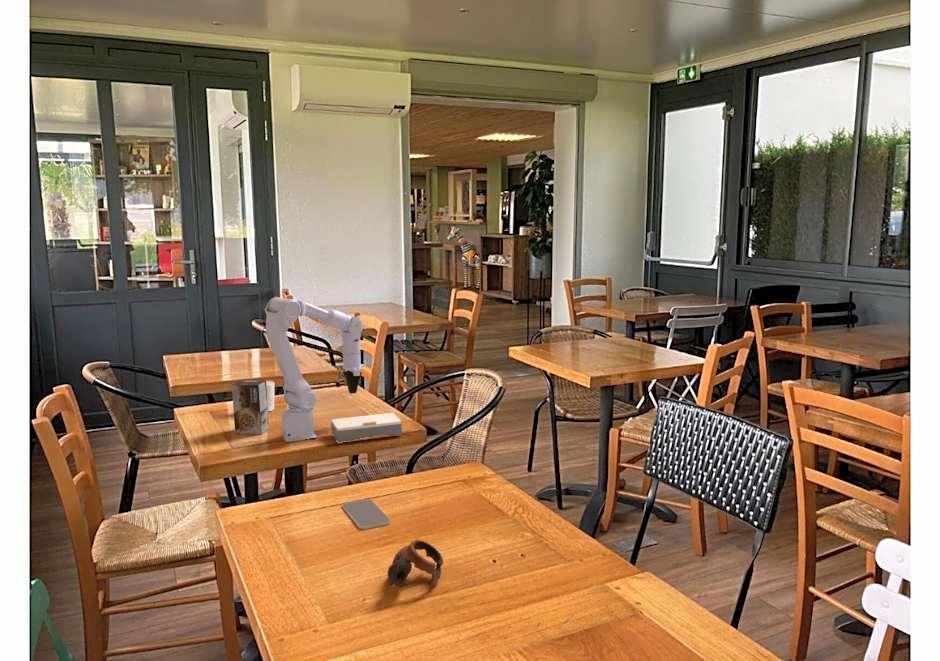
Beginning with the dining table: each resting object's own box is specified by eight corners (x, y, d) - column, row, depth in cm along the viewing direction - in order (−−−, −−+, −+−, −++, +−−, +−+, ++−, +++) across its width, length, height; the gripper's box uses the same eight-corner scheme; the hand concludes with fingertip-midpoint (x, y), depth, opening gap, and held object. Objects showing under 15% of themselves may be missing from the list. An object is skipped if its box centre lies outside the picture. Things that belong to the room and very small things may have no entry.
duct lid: (337, 431, 212) (337, 426, 212) (331, 421, 222) (331, 417, 221) (401, 423, 220) (401, 419, 219) (392, 415, 229) (392, 411, 229)
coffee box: (269, 428, 228) (267, 380, 226) (261, 434, 222) (259, 384, 219) (242, 427, 229) (239, 379, 227) (234, 433, 223) (231, 384, 220)
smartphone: (370, 498, 171) (392, 521, 158) (370, 501, 171) (392, 525, 158) (340, 503, 168) (360, 527, 155) (340, 507, 168) (360, 531, 155)
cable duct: (337, 443, 213) (337, 431, 212) (331, 434, 222) (331, 422, 222) (401, 436, 220) (401, 423, 220) (393, 427, 229) (392, 415, 229)
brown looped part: (401, 565, 140) (421, 532, 139) (434, 598, 136) (456, 564, 135) (365, 577, 130) (387, 541, 128) (401, 613, 125) (424, 576, 124)
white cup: (251, 409, 251) (249, 382, 249) (273, 406, 254) (272, 379, 253) (254, 415, 244) (252, 386, 242) (277, 412, 247) (276, 384, 245)
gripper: (368, 355, 225) (370, 396, 227) (358, 347, 238) (359, 386, 240) (346, 357, 222) (348, 399, 224) (337, 349, 235) (339, 388, 238)
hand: (352, 392), depth 232 cm, fingers closed
